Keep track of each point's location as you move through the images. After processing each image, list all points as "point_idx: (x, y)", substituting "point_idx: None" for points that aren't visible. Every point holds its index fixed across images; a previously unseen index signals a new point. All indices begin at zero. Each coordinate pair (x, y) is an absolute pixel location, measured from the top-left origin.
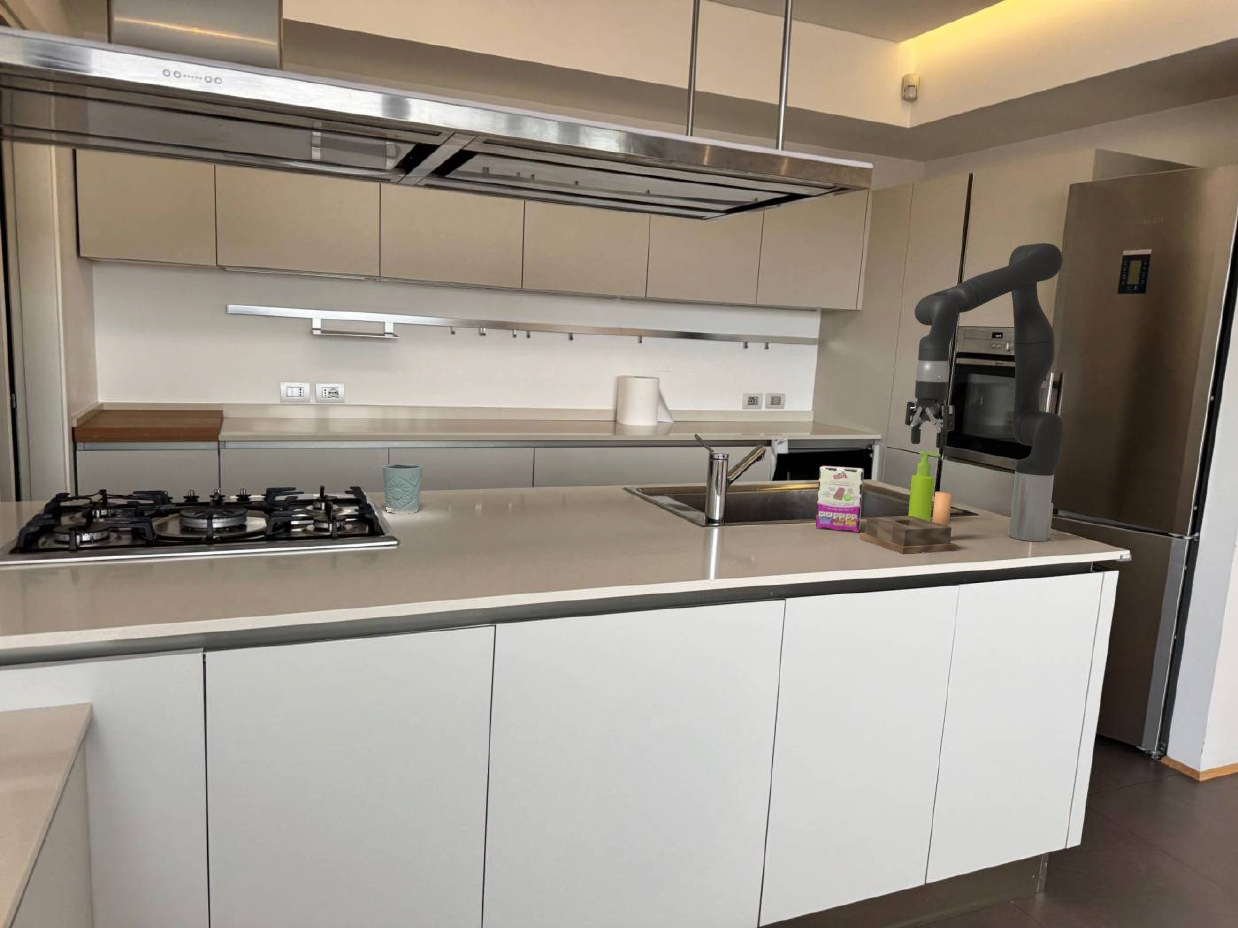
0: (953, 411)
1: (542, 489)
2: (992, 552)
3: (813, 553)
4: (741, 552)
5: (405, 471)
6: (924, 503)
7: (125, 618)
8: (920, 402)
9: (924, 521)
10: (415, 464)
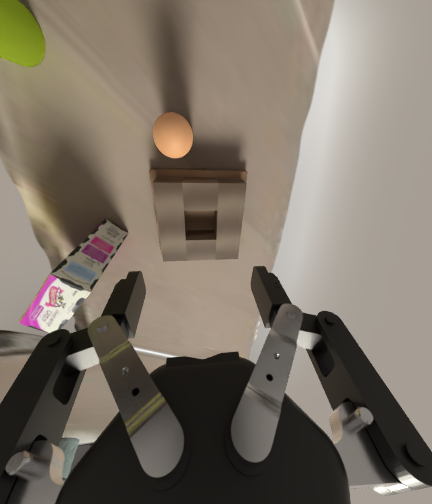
0: (402, 423)
1: None
2: (274, 115)
3: (210, 314)
4: (194, 349)
5: (67, 475)
6: (3, 24)
7: None
8: None
9: (198, 194)
10: None
